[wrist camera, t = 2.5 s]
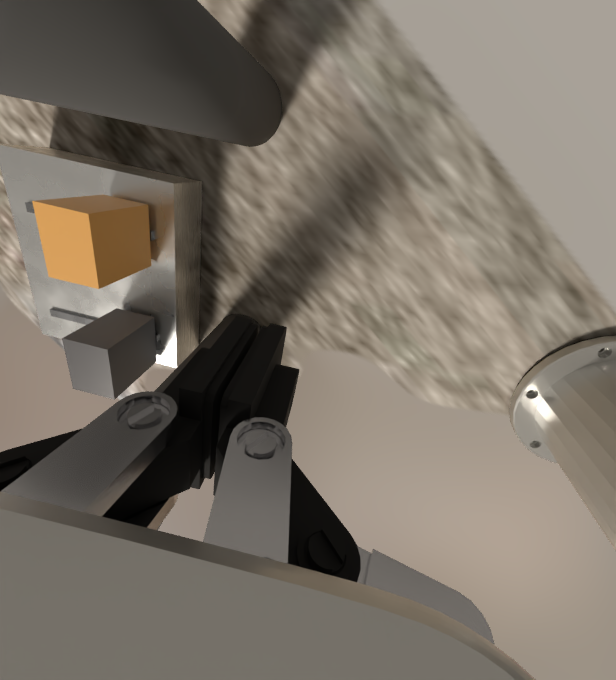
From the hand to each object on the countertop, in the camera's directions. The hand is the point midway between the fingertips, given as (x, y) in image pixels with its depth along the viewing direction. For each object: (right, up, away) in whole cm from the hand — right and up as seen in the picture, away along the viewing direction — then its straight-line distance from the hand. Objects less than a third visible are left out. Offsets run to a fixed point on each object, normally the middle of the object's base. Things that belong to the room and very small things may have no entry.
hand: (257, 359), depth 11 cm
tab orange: (-10, +8, +11) cm, 17 cm away
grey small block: (-12, +1, +15) cm, 19 cm away
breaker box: (-13, +8, +16) cm, 22 cm away
